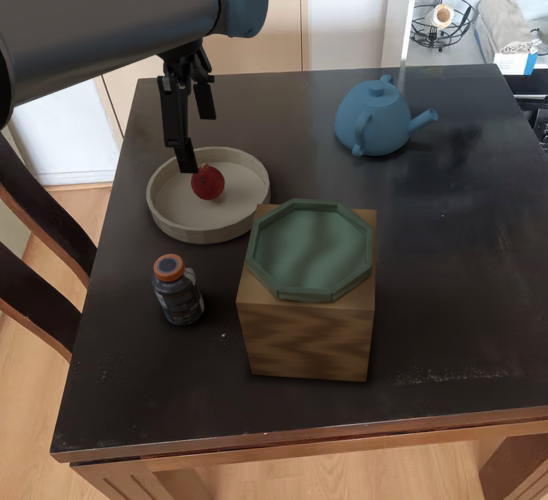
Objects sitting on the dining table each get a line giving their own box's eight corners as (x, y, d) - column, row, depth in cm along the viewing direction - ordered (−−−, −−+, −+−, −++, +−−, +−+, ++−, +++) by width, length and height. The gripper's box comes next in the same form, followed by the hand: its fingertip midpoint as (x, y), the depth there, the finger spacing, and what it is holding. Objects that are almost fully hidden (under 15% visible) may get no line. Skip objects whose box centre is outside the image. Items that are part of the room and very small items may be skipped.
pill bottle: (210, 297, 84) (196, 251, 75) (196, 329, 80) (181, 284, 71) (173, 291, 84) (156, 244, 76) (159, 323, 81) (138, 277, 72)
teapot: (353, 103, 117) (355, 49, 107) (442, 125, 112) (453, 70, 103) (318, 158, 105) (317, 104, 95) (417, 185, 101) (427, 130, 91)
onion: (218, 212, 95) (211, 179, 89) (189, 205, 96) (180, 171, 90) (232, 191, 99) (226, 157, 92) (204, 184, 100) (196, 150, 94)
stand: (252, 374, 75) (233, 292, 60) (268, 283, 86) (255, 193, 70) (365, 382, 75) (376, 301, 60) (368, 289, 85) (377, 199, 70)
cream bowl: (136, 240, 91) (130, 226, 88) (169, 157, 105) (164, 143, 102) (261, 247, 90) (259, 233, 88) (277, 163, 104) (276, 149, 101)
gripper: (173, 72, 64) (205, 198, 80) (216, -23, 79) (235, 99, 96) (111, 69, 64) (156, 196, 80) (166, -25, 80) (194, 97, 96)
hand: (199, 144), depth 88 cm, fingers open, 13 cm apart
